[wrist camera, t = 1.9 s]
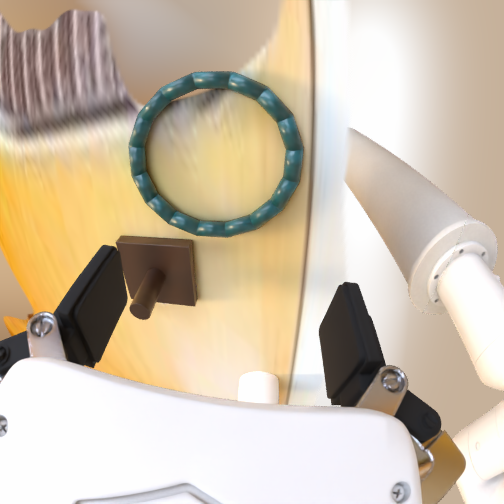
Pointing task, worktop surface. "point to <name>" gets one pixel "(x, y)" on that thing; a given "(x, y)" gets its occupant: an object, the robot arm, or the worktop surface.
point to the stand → (157, 272)
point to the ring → (245, 88)
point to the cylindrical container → (259, 388)
